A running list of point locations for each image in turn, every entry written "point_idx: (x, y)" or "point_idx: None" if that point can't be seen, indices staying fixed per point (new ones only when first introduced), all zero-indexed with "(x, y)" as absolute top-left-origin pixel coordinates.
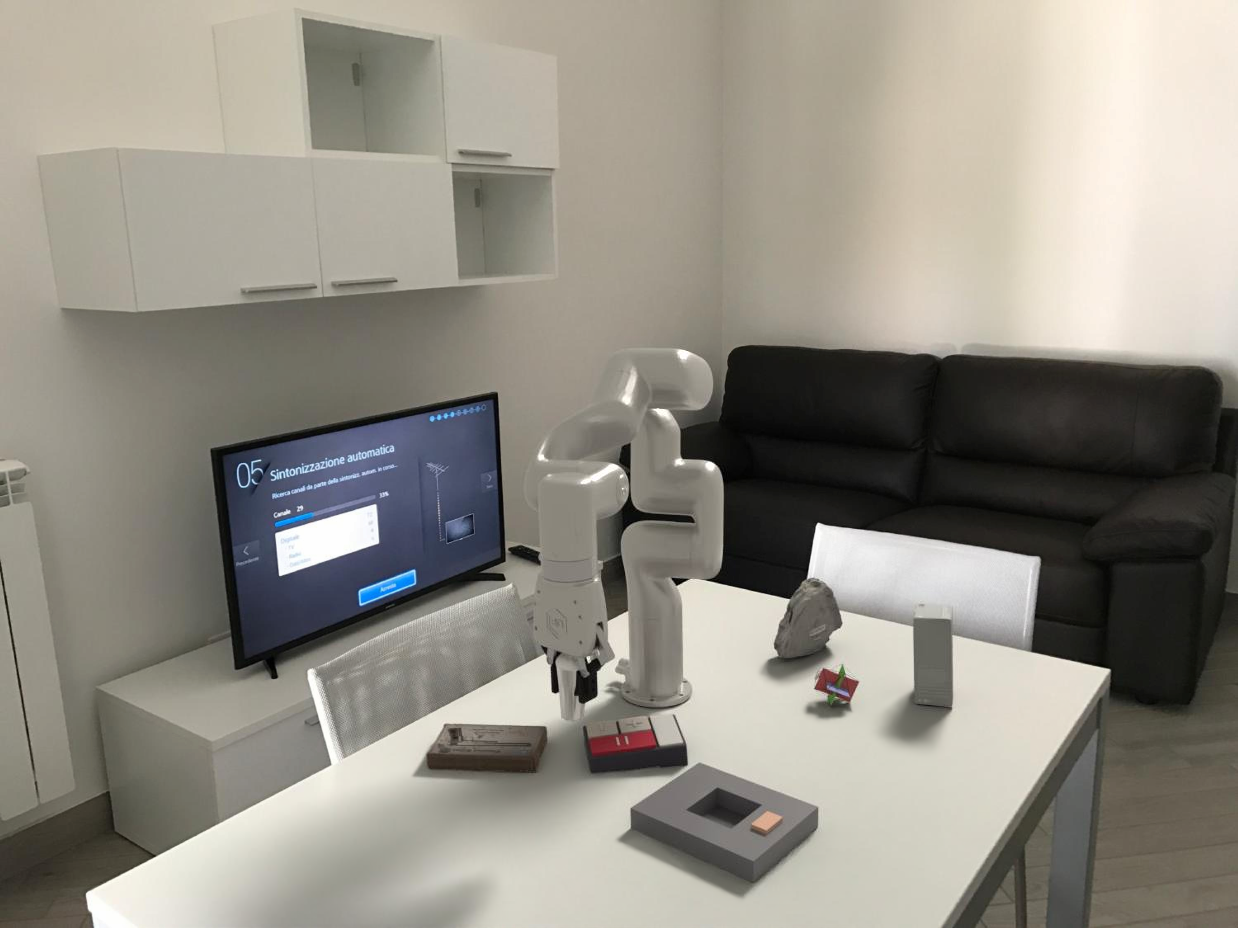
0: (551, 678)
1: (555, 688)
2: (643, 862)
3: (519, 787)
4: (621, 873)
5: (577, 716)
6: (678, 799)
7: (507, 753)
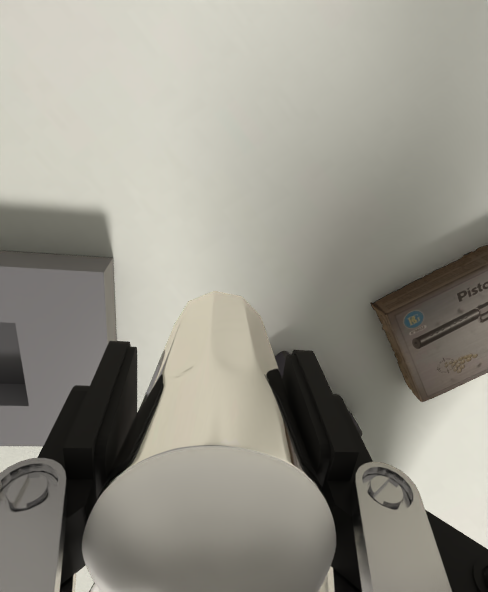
0: (328, 394)
1: (292, 364)
2: (11, 178)
3: (370, 250)
4: (15, 122)
5: (177, 320)
6: (53, 342)
7: (439, 299)
